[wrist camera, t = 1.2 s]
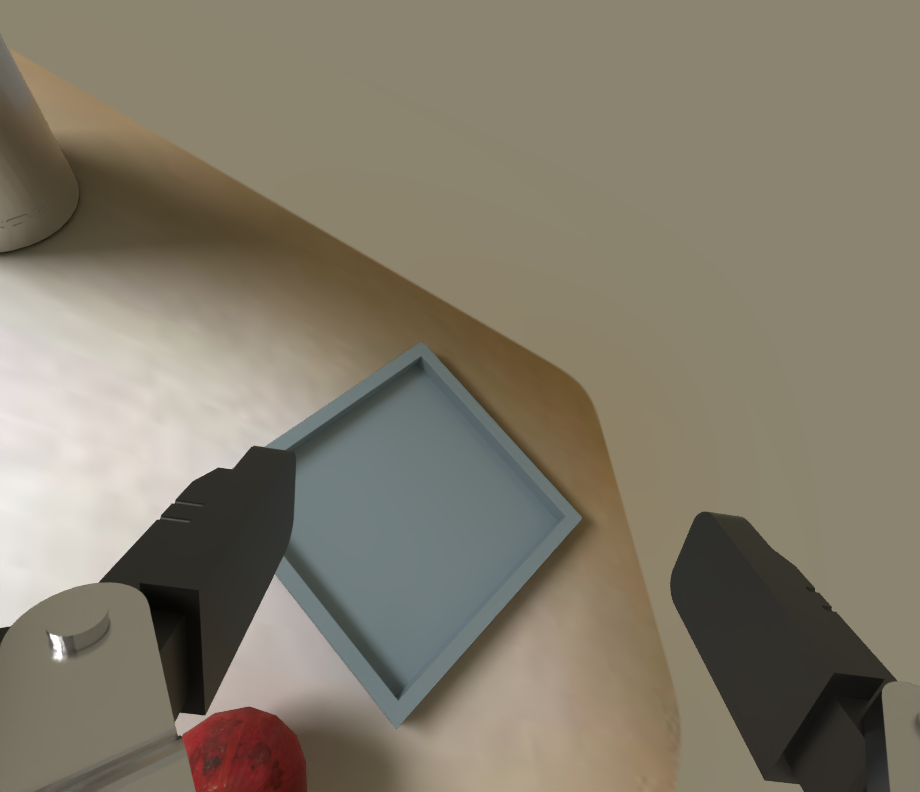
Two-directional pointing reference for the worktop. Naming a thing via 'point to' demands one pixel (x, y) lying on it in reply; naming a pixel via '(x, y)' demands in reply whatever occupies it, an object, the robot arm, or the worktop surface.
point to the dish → (412, 525)
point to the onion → (245, 753)
